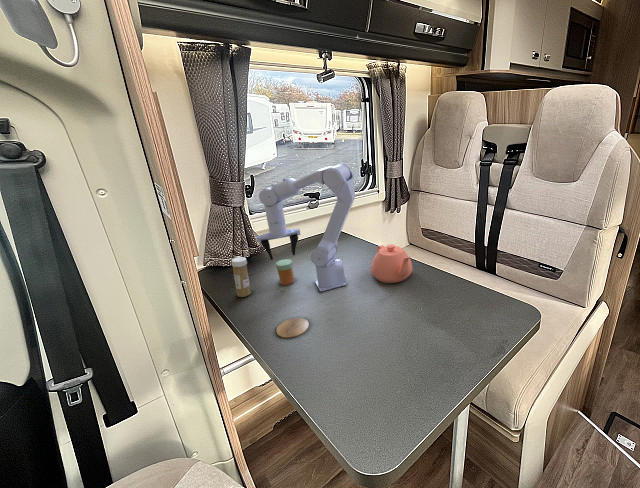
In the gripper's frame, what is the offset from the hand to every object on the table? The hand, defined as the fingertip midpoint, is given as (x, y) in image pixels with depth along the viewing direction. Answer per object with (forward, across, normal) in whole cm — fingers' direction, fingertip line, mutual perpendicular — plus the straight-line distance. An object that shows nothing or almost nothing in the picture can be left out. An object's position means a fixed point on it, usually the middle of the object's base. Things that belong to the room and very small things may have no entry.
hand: (282, 256), depth 115 cm
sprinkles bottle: (+10, +15, +2) cm, 18 cm away
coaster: (+10, +3, +30) cm, 32 cm away
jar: (+10, 0, 0) cm, 10 cm away
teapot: (+11, -36, +17) cm, 41 cm away
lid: (+3, 0, 0) cm, 3 cm away
